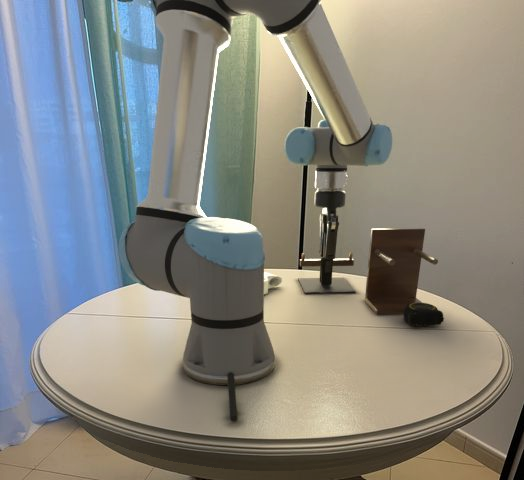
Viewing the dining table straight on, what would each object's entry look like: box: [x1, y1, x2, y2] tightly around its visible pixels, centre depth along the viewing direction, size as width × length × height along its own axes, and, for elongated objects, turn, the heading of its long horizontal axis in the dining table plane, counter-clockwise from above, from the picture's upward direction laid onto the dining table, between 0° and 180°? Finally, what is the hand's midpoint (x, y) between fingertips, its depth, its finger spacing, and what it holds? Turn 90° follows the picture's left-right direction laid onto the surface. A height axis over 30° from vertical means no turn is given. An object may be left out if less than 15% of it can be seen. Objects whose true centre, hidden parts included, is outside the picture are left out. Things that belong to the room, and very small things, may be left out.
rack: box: [364, 227, 439, 315], centre depth 100 cm, size 12×12×17 cm
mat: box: [297, 277, 357, 295], centre depth 121 cm, size 14×13×1 cm
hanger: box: [299, 252, 355, 268], centre depth 119 cm, size 2×14×3 cm, turn 93°
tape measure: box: [403, 302, 445, 328], centre depth 94 cm, size 7×7×4 cm
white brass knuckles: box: [264, 271, 283, 295], centre depth 121 cm, size 3×18×15 cm
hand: (325, 283), depth 121 cm, fingers closed on hanger, 2 cm apart
